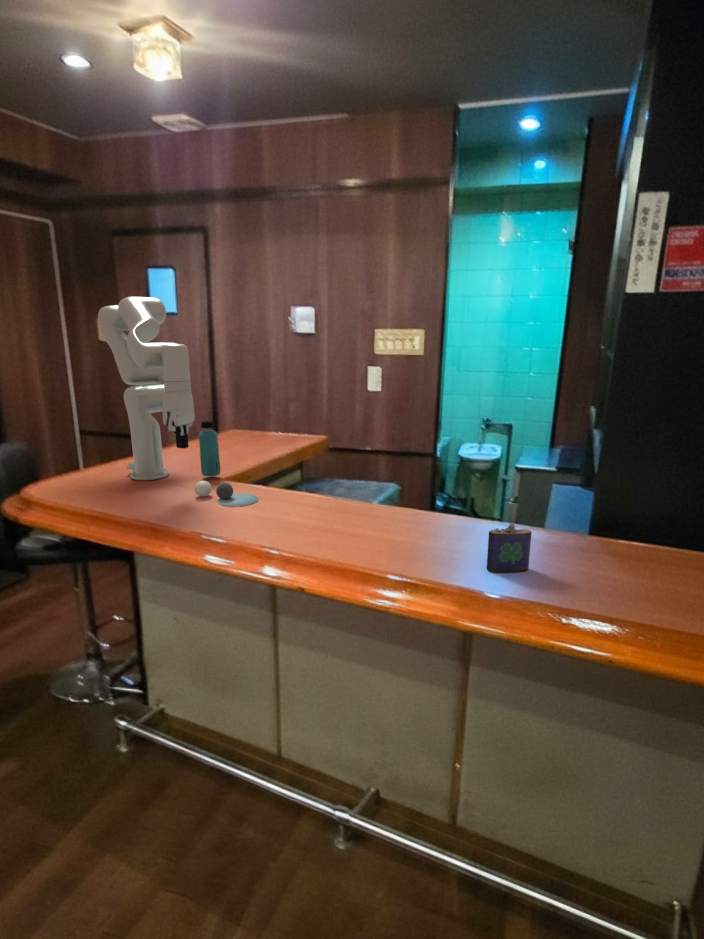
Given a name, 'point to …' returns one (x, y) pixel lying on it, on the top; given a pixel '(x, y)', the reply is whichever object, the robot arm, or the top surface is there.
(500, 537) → the flask
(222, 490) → the object ball
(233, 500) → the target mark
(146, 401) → the robot arm
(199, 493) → the cue ball
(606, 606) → the top surface
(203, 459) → the beverage bottle
